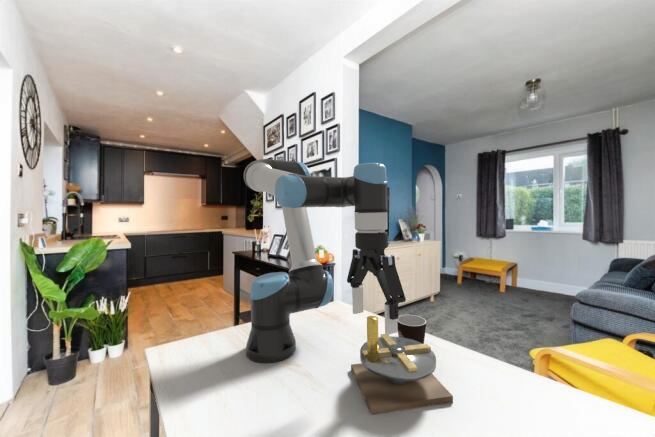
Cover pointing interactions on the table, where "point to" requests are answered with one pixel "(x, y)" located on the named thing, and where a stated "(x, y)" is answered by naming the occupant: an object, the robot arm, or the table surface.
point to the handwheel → (395, 355)
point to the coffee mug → (411, 327)
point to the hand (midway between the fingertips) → (373, 322)
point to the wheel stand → (398, 391)
